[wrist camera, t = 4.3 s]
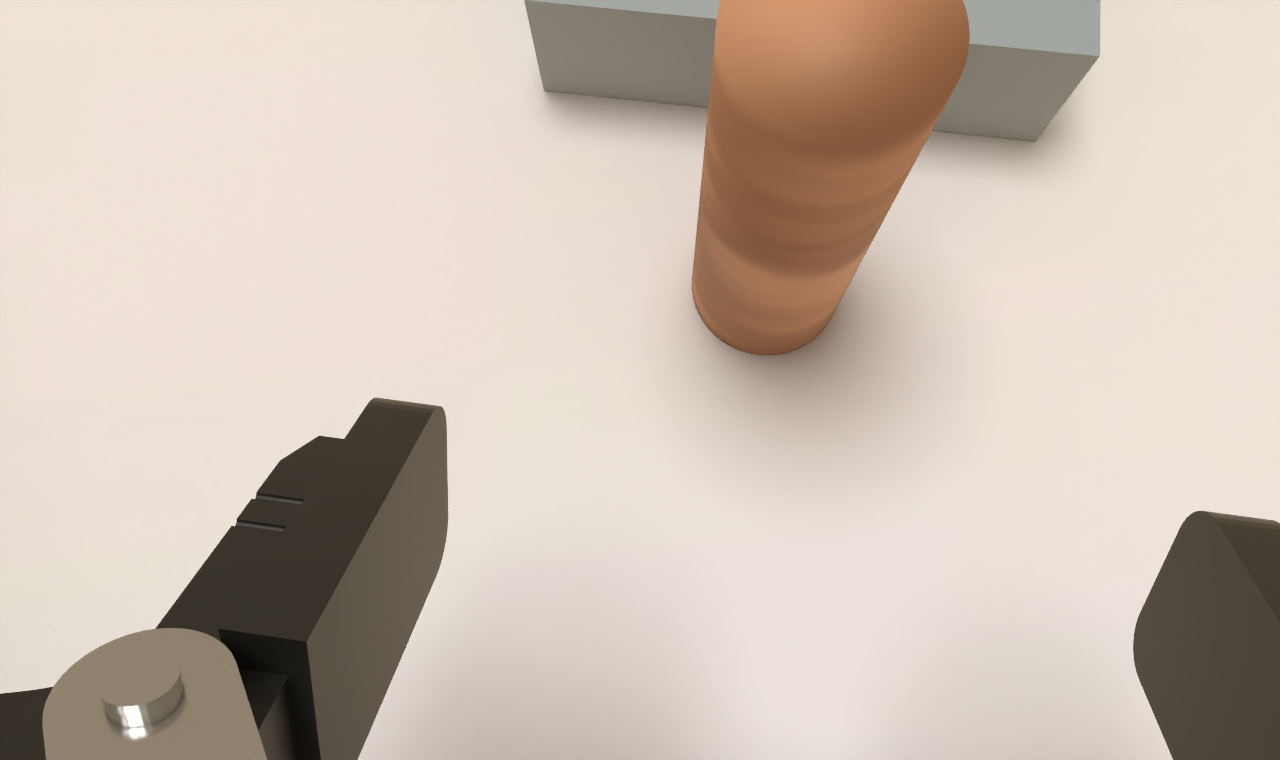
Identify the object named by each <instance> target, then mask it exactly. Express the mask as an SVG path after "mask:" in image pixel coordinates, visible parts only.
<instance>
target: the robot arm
mask: <svg viewBox="0 0 1280 760" xmlns="http://www.w3.org/2000/svg"><path fill="white" fill-rule="evenodd" d="M447 526H448V486H447V427H446V416H445V412H444V410H443V408H442V407H441V406H434V405H427V404H419V403H412V402H404V401H397V400H390V399H382V398H373V399H372V400H371V401H370V402H369V403H368V404H367V406H366V407H365V409H364V410H363V412H362V413H361V415H360V416H359V418H358V419H357V421H356V422H355V424H354V425H353V427H352V428H351V430H350V431H349V433H348V434H347V436H346V437H345V439H339V438H332V437H324V436H318V437H316V438H315V439H313V440H312V441H310V442H309V443H307V444H306V445H304V446H302V447H301V448H299V449H298V450H296V451H295V452H293V453H291V454H290V455H288V456H287V457H285V458H284V459H282V460H280V462H279V463H278V464H277V466H276V467H275V468H274V470H273V471H272V472H271V474H270V475H269V476H268V478H267V479H266V480H265V482H264V483H263V484H262V486H261V487H260V489H259V490H258V491H257V494H256V499H251V501H250V502H249V503H248V505H247V506H246V507H245V509H244V510H243V511H242V513H241V514H240V515H239V517H238V518H237V523H236V526H231V528H230V529H229V530H228V532H227V533H226V534H225V536H224V537H223V538H222V540H221V541H220V542H219V544H218V545H217V546H216V548H215V549H214V551H213V552H212V553H211V555H210V556H209V557H208V559H207V560H206V561H205V563H204V564H203V565H202V567H201V568H200V569H199V571H198V572H197V573H196V575H195V576H194V577H193V579H192V580H191V582H190V583H189V584H188V586H187V587H186V588H185V590H184V591H183V592H182V594H181V595H180V596H179V598H178V599H177V600H176V602H175V603H174V604H173V606H172V607H171V609H170V610H169V611H168V613H167V614H166V615H165V617H164V618H163V619H162V621H161V622H160V623H159V625H158V626H157V627H156V629H152V630H146V631H141V632H137V633H133V634H129V635H127V636H124V637H121V638H118V639H115V640H113V641H111V642H109V643H107V644H104V645H102V646H100V647H98V648H97V649H95V650H94V651H92V652H90V653H89V654H87V655H85V656H84V657H83V658H81V659H80V660H79V661H78V662H76V663H75V664H74V665H72V666H71V667H70V668H69V669H68V670H67V671H66V672H65V673H64V674H63V675H62V676H61V678H60V679H59V680H58V682H57V683H56V684H55V686H54V687H50V688H44V689H38V690H31V691H22V692H13V693H4V694H0V760H357V759H358V757H359V755H360V752H361V750H362V748H363V745H364V743H365V741H366V739H367V736H368V734H369V732H370V729H371V727H372V725H373V722H374V720H375V718H376V715H377V713H378V711H379V708H380V706H381V704H382V701H383V699H384V697H385V694H386V692H387V690H388V687H389V685H390V683H391V680H392V678H393V676H394V673H395V671H396V669H397V666H398V664H399V662H400V659H401V657H402V655H403V652H404V650H405V648H406V645H407V643H408V641H409V638H410V636H411V634H412V631H413V629H414V627H415V624H416V622H417V620H418V617H419V615H420V613H421V610H422V608H423V606H424V603H425V601H426V599H427V596H428V594H429V592H430V589H431V587H432V585H433V582H434V580H435V578H436V575H437V573H438V570H439V567H440V564H441V560H442V557H443V552H444V547H445V542H446V535H447ZM1133 651H1134V662H1135V667H1136V671H1137V675H1138V677H1139V680H1140V682H1141V685H1142V687H1143V689H1144V692H1145V694H1146V696H1147V699H1148V701H1149V704H1150V706H1151V708H1152V711H1153V713H1154V715H1155V718H1156V720H1157V722H1158V725H1159V727H1160V729H1161V732H1162V734H1163V737H1164V739H1165V741H1166V744H1167V746H1168V748H1169V751H1170V753H1171V755H1172V758H1173V760H1280V523H1278V522H1276V521H1273V520H1266V519H1258V518H1251V517H1243V516H1236V515H1229V514H1221V513H1214V512H1206V511H1197V512H1194V513H1192V514H1191V515H1189V516H1188V517H1187V518H1186V520H1185V521H1184V522H1183V524H1182V526H1181V527H1180V529H1179V531H1178V534H1177V536H1176V538H1175V540H1174V542H1173V544H1172V546H1171V548H1170V551H1169V553H1168V555H1167V557H1166V559H1165V561H1164V563H1163V565H1162V568H1161V570H1160V572H1159V574H1158V576H1157V578H1156V580H1155V582H1154V585H1153V587H1152V589H1151V591H1150V593H1149V595H1148V597H1147V599H1146V602H1145V604H1144V606H1143V608H1142V610H1141V612H1140V615H1139V617H1138V620H1137V623H1136V627H1135V633H1134V643H1133Z"/></svg>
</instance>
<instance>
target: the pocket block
mask: <svg viewBox="0 0 1280 760" xmlns="http://www.w3.org/2000/svg"><path fill="white" fill-rule="evenodd" d="M963 2H964V5H965V7H966V12H967V16H968V21H969V33H970V40H969V51H968V55H967V59H966V64H965V67H964V69H963V72H962V74H961V77H960V79H959V81H958V83H957V85H956V86H955V88H954V90H953V92H952V94H951V96H950V98H949V99H948V101H947V103H946V105H945V107H944V109H943V111H942V112H941V114H940V116H939V118H938V120H937V122H936V124H935V125H934V127H933V129H932V131H938V132H948V133H958V134H967V135H977V136H987V137H996V138H1006V139H1016V140H1025V141H1036V139H1037V138H1038V137H1039V135H1040V134H1041V133H1042V131H1043V130H1044V129H1045V127H1046V126H1047V125H1048V124H1049V122H1050V121H1051V120H1052V118H1053V117H1054V116H1055V114H1056V113H1057V112H1058V110H1059V109H1060V108H1061V106H1062V105H1063V104H1064V102H1065V101H1066V100H1067V99H1068V97H1069V96H1070V95H1071V93H1072V92H1073V91H1074V89H1075V88H1076V87H1077V85H1078V84H1079V83H1080V81H1081V80H1082V79H1083V77H1084V76H1085V75H1086V73H1087V72H1088V71H1089V70H1090V68H1091V67H1092V66H1093V64H1094V63H1095V62H1096V60H1097V59H1098V58H1099V56H1100V0H963ZM719 3H720V0H525V5H526V10H527V14H528V19H529V23H530V28H531V33H532V37H533V42H534V46H535V51H536V56H537V60H538V65H539V70H540V74H541V79H542V83H543V88H544V91H552V92H561V93H571V94H581V95H590V96H600V97H610V98H619V99H629V100H639V101H648V102H658V103H668V104H677V105H687V106H697V107H706V108H708V106H709V95H710V85H711V74H712V64H713V53H714V42H715V32H716V21H717V14H718V8H719Z"/></svg>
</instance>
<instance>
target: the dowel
mask: <svg viewBox="0 0 1280 760" xmlns="http://www.w3.org/2000/svg"><path fill="white" fill-rule="evenodd" d="M969 40H970V33H969V21H968V16H967V12H966V7H965V5H964V2H963V0H720V3H719V8H718V14H717V21H716V32H715V42H714V53H713V64H712V74H711V85H710V95H709V106H708V117H707V127H706V138H705V149H704V159H703V170H702V180H701V191H700V202H699V212H698V223H697V234H696V244H695V255H694V265H693V276H692V291H693V298H694V302H695V305H696V308H697V310H698V313H699V315H700V316H701V318H702V320H703V322H704V323H705V324H706V326H707V327H708V328H709V329H710V330H711V331H712V332H713V333H714V334H715V335H716V336H717V337H718V338H719V339H721V340H722V341H723V342H725V343H727V344H728V345H730V346H732V347H734V348H736V349H739V350H741V351H745V352H748V353H753V354H759V355H774V354H781V353H786V352H790V351H792V350H795V349H798V348H800V347H802V346H803V345H805V344H807V343H808V342H810V341H811V340H813V339H814V338H815V337H816V336H817V335H818V334H819V333H820V332H821V331H822V330H823V329H824V328H825V326H826V325H827V323H828V322H829V320H830V318H831V317H832V315H833V313H834V311H835V309H836V307H837V306H838V304H839V302H840V300H841V298H842V296H843V294H844V293H845V291H846V289H847V287H848V285H849V283H850V281H851V280H852V278H853V276H854V274H855V272H856V270H857V268H858V267H859V265H860V263H861V261H862V259H863V257H864V255H865V254H866V252H867V250H868V248H869V246H870V244H871V242H872V241H873V239H874V237H875V235H876V233H877V231H878V229H879V228H880V226H881V224H882V222H883V220H884V218H885V216H886V215H887V213H888V211H889V209H890V207H891V205H892V203H893V202H894V200H895V198H896V196H897V194H898V192H899V190H900V189H901V187H902V185H903V183H904V181H905V179H906V177H907V176H908V174H909V172H910V170H911V168H912V166H913V164H914V163H915V161H916V159H917V157H918V155H919V153H920V151H921V150H922V148H923V146H924V144H925V142H926V140H927V138H928V137H929V135H930V133H931V131H932V129H933V127H934V125H935V124H936V122H937V120H938V118H939V116H940V114H941V112H942V111H943V109H944V107H945V105H946V103H947V101H948V99H949V98H950V96H951V94H952V92H953V90H954V88H955V86H956V85H957V83H958V81H959V79H960V77H961V74H962V72H963V69H964V67H965V64H966V59H967V55H968V51H969Z"/></svg>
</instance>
